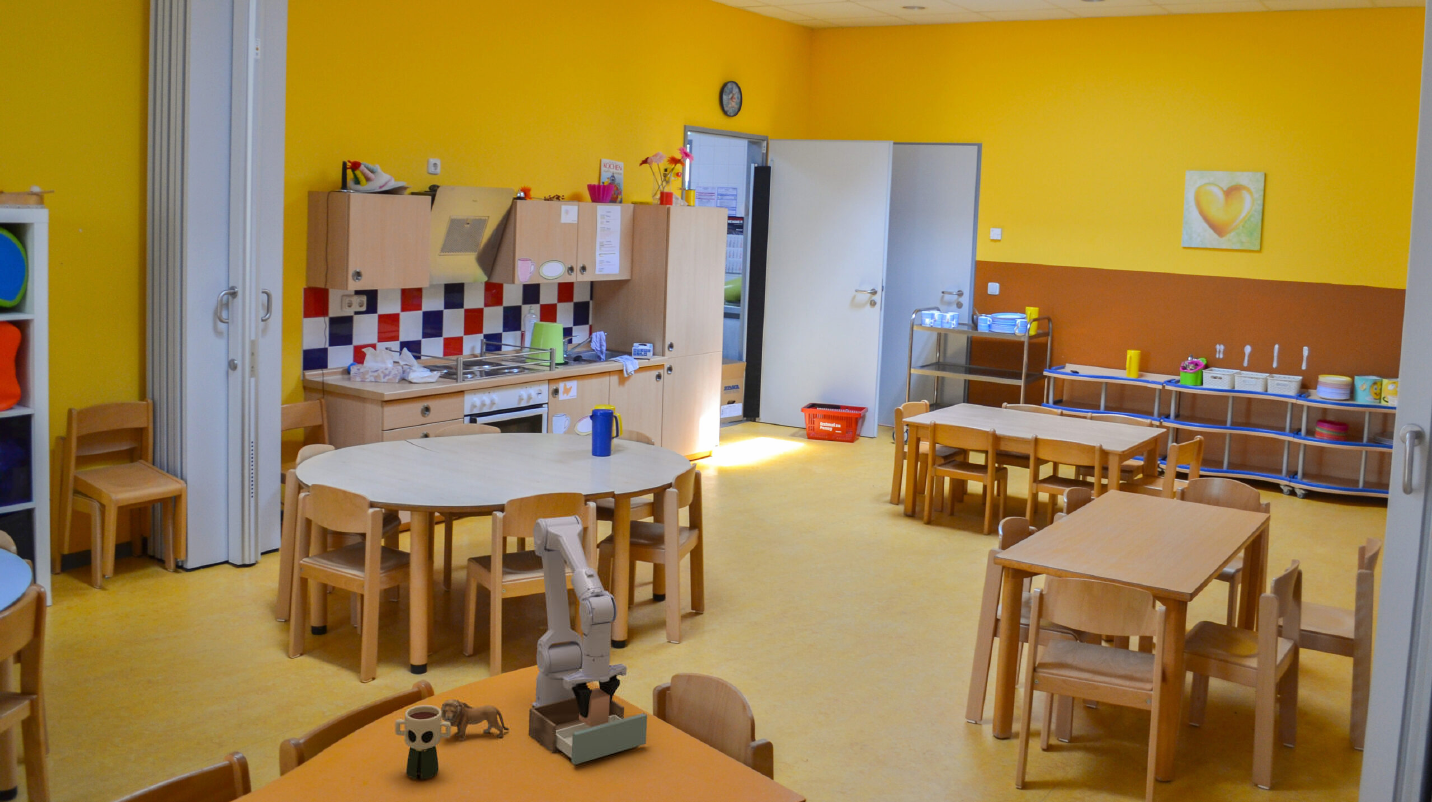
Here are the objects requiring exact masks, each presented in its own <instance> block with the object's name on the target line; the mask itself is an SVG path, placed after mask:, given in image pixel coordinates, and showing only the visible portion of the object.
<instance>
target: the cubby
mask: <svg viewBox="0 0 1432 802" xmlns="http://www.w3.org/2000/svg"><path fill="white" fill-rule="evenodd" d="M528 711H529V714H528V715H529V716H528V735H529V736H530V737H531V738H532V739H534V741H536V742H537V743H538V744H540V745H541V746H543V748H545V749H547V750H548V751H549V752H550V753H552V754H555V753H558V752H559V753H560V752H562V751H561V750H560V749H558V748H557V747H556V730H560V729H564V728H567V727H571V726H575V725H578V724H582V723H584V722H582V721H581V720H579V708H578V704H577V700H576V697H573V698H569V699H565V700H561V701H557V702H553V703H549V704H545V705H541V706H537V707H534V706H533V707H529V710H528ZM611 715H616V716H618V717H619V718H621V719H624V718H625V706H624V705H622V704H620V703H619V702H617V701H615V700H614V699H612V700H611V703H610V706H609V716H611Z"/></svg>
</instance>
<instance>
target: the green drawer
mask: <svg viewBox="0 0 1432 802" xmlns="http://www.w3.org/2000/svg"><path fill="white" fill-rule="evenodd" d="M647 726H648V715H647V714H646V713H644V712H643V713H639V714H635V715H632V716H628V717H624V719H621V718H619V717H618V716H616V715H611V716H609V722H608V723H604V724H600V725H597V726H593V727H589V726H588V725H587V724H585V723H582V724H578V725H575V726H571V727H567V728H564V729H560V730H556V747H557V748H558V749H560V750H561V751H560V752H562V753H564V754H565V755H567V757H569V758H570V759H571V763H572V764H573V765H579V764H581V763H585V762H588V761H591V760H595V759H598V758H603V757H605V756H608V755H611V754H615V753H619V752H623V751H626V750H629V749H632V748H635V747H640V746H643V745H646V744H647V728H648V727H647Z"/></svg>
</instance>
